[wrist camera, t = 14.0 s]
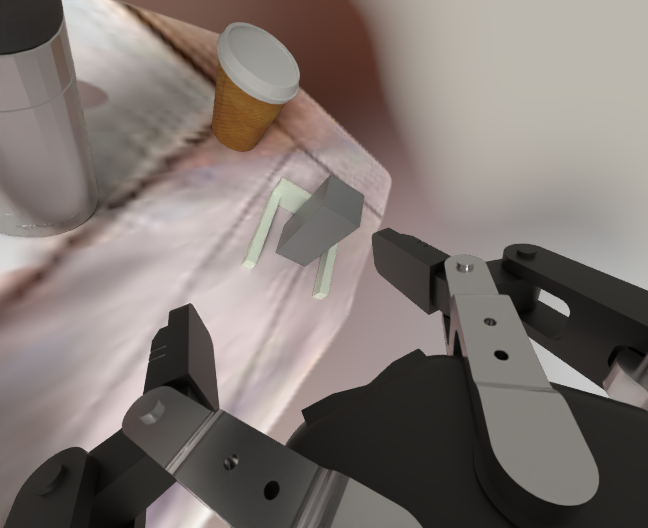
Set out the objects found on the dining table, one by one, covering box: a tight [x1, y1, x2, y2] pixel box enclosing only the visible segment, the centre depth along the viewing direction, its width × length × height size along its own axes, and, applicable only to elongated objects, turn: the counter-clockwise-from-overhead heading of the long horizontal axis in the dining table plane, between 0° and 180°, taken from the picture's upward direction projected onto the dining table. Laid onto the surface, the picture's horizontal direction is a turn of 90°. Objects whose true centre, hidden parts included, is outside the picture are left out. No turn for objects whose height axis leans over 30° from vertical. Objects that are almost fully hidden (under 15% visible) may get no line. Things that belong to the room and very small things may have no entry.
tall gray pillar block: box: [276, 174, 364, 266], centre depth 34 cm, size 5×4×12 cm
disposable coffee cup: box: [212, 22, 300, 151], centre depth 35 cm, size 10×10×12 cm
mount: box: [241, 177, 338, 300], centre depth 37 cm, size 12×11×4 cm
